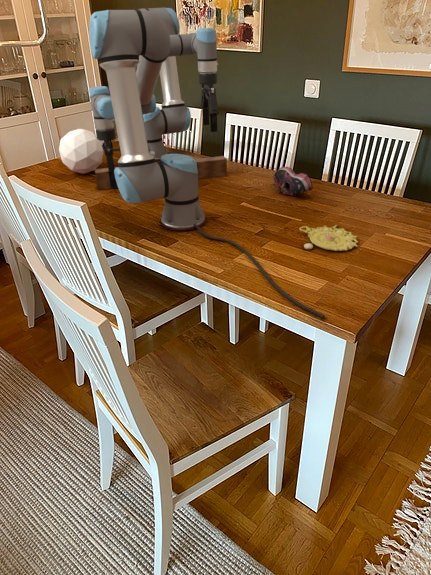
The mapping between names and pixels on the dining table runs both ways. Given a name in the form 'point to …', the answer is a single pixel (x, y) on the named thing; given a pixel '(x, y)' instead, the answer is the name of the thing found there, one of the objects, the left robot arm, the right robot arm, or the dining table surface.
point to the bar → (204, 168)
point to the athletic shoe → (292, 181)
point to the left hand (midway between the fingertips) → (209, 128)
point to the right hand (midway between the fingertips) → (113, 184)
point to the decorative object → (330, 238)
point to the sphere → (81, 151)
